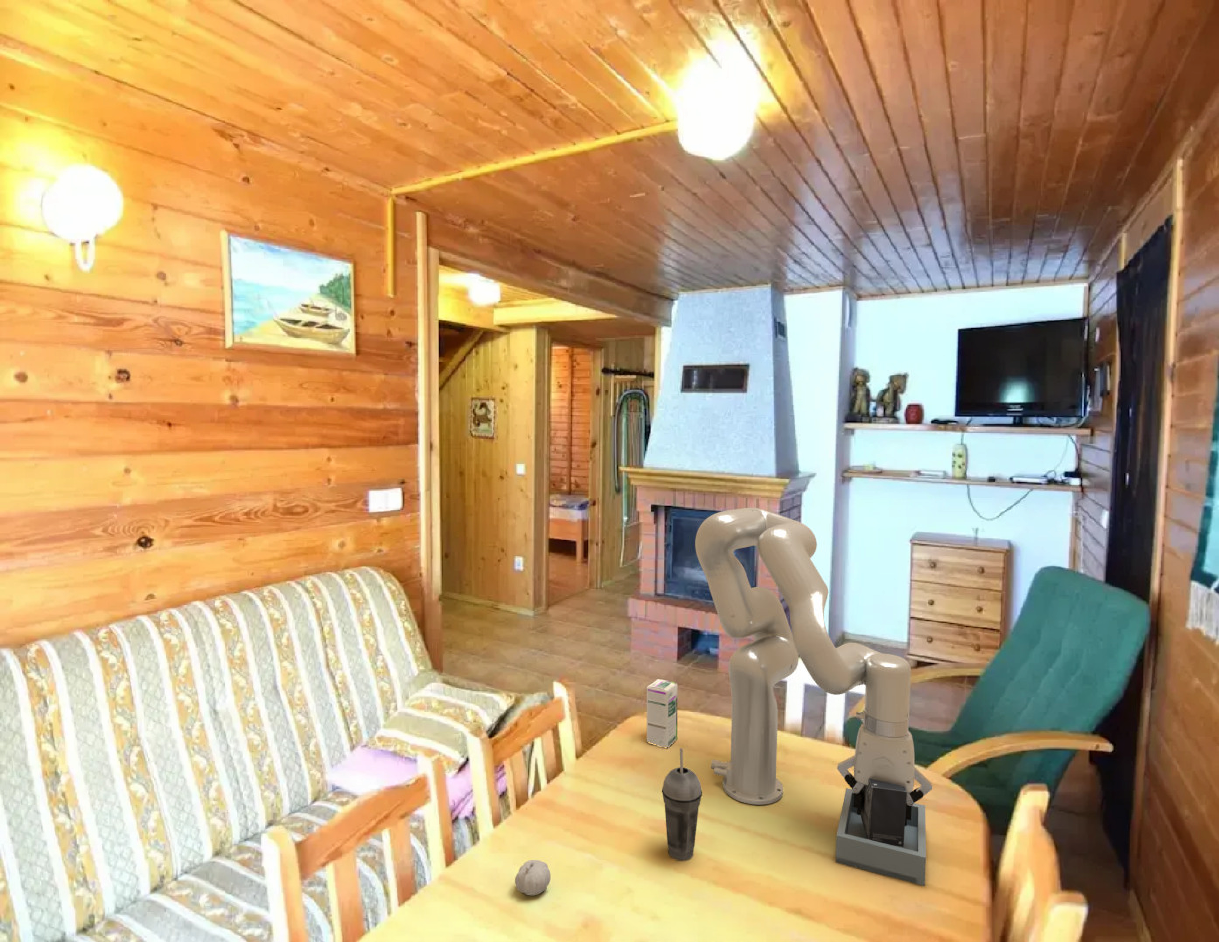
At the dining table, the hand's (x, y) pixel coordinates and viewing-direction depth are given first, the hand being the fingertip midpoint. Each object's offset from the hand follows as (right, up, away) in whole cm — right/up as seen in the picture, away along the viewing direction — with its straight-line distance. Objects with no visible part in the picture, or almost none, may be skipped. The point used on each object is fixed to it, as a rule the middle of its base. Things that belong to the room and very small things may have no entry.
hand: (881, 815), depth 125 cm
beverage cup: (-37, -6, -2) cm, 38 cm away
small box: (0, -3, 0) cm, 3 cm away
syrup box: (-38, -3, +40) cm, 55 cm away
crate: (0, -6, 0) cm, 6 cm away
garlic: (-63, -6, -13) cm, 65 cm away
